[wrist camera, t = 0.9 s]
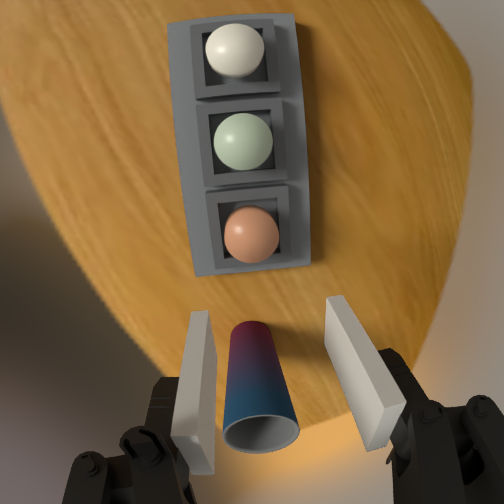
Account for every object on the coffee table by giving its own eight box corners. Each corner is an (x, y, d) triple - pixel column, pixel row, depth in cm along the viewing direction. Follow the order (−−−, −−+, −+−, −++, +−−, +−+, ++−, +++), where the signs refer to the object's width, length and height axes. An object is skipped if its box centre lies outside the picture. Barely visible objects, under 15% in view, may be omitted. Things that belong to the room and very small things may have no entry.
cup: (284, 319, 36) (311, 416, 22) (269, 360, 38) (285, 454, 24) (229, 309, 35) (231, 410, 21) (218, 352, 37) (216, 450, 23)
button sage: (213, 118, 24) (211, 116, 21) (266, 113, 24) (270, 111, 21) (218, 169, 25) (216, 173, 23) (271, 164, 25) (274, 167, 23)
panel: (171, 30, 23) (163, 18, 20) (289, 20, 23) (296, 8, 20) (197, 268, 32) (194, 283, 29) (306, 257, 33) (314, 271, 30)
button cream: (206, 35, 21) (203, 26, 18) (259, 31, 21) (261, 22, 18) (209, 81, 22) (207, 76, 20) (263, 76, 22) (266, 71, 20)
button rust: (222, 207, 27) (221, 214, 24) (273, 202, 27) (277, 208, 24) (228, 254, 28) (227, 265, 26) (276, 250, 28) (280, 260, 26)
